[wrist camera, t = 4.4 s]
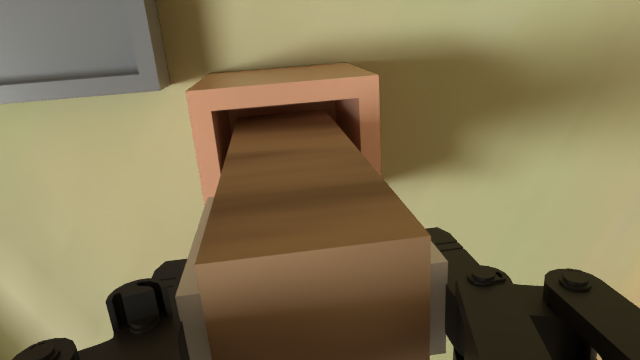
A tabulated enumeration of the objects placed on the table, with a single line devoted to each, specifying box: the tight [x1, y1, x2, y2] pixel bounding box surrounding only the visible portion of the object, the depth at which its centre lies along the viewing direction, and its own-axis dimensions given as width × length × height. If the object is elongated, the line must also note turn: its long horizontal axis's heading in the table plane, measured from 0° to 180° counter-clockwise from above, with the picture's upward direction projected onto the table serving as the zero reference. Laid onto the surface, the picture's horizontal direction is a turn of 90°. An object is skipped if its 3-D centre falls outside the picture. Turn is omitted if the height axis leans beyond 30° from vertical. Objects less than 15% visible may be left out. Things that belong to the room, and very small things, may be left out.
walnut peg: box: [195, 109, 431, 360], centre depth 18 cm, size 5×5×17 cm
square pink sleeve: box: [185, 62, 381, 205], centre depth 26 cm, size 9×9×9 cm
